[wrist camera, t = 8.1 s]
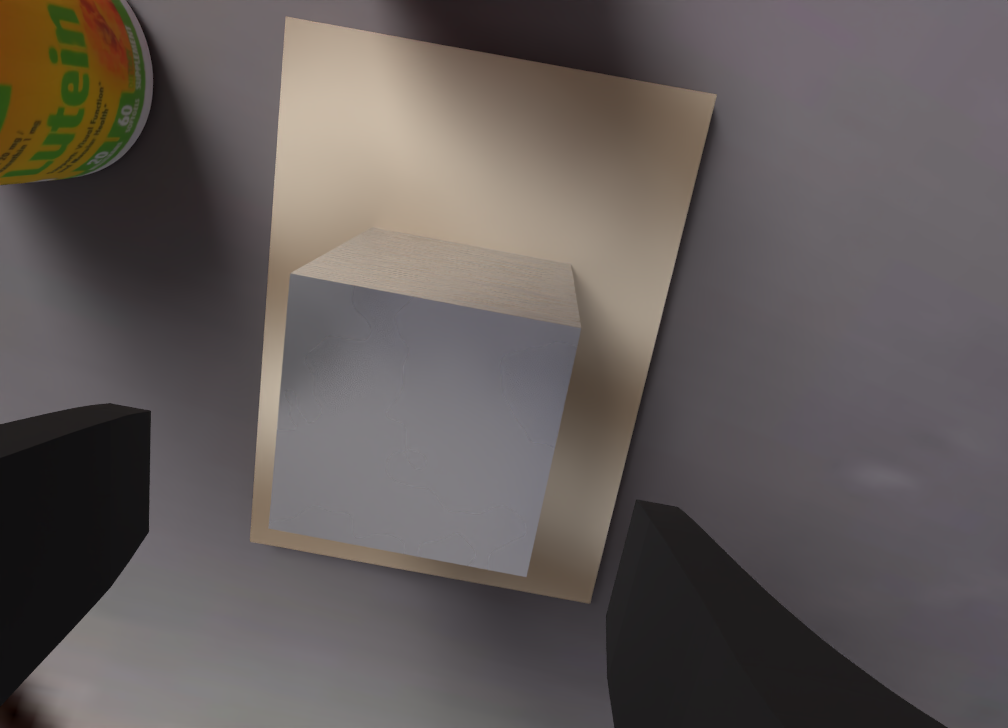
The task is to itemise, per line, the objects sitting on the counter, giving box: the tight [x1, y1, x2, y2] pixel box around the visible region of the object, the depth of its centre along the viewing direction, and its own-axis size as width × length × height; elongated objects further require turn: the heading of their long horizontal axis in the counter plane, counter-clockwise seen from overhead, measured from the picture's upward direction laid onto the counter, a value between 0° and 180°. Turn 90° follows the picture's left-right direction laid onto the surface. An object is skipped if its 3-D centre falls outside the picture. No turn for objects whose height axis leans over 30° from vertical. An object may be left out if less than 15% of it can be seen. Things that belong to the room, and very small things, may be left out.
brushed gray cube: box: [268, 227, 581, 577], centre depth 16 cm, size 5×5×6 cm
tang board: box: [250, 17, 717, 604], centre depth 17 cm, size 14×10×4 cm
